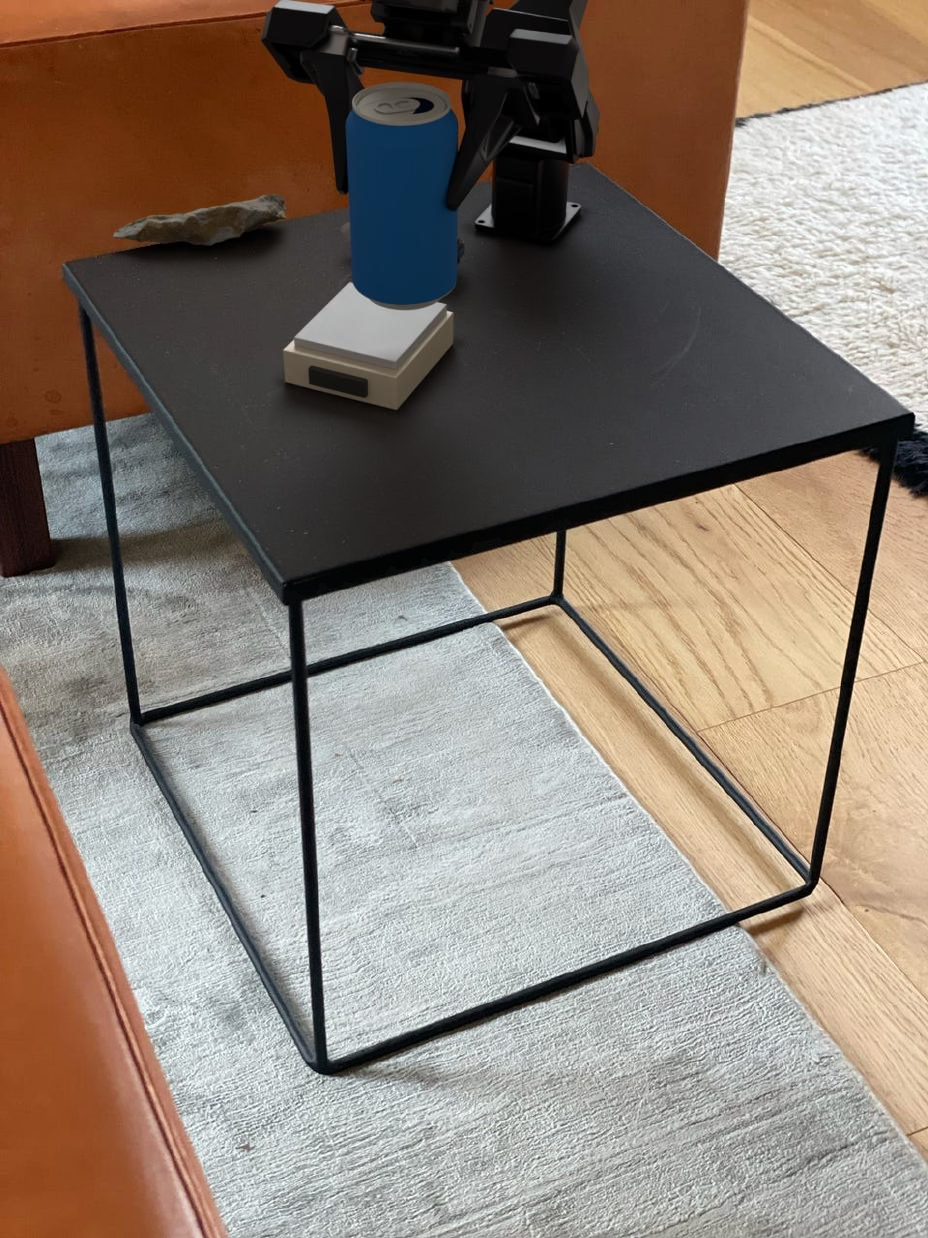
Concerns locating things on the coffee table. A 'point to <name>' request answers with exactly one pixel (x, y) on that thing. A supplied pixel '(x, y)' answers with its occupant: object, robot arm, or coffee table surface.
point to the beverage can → (402, 194)
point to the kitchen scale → (368, 349)
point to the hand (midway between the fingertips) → (394, 200)
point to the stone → (206, 222)
